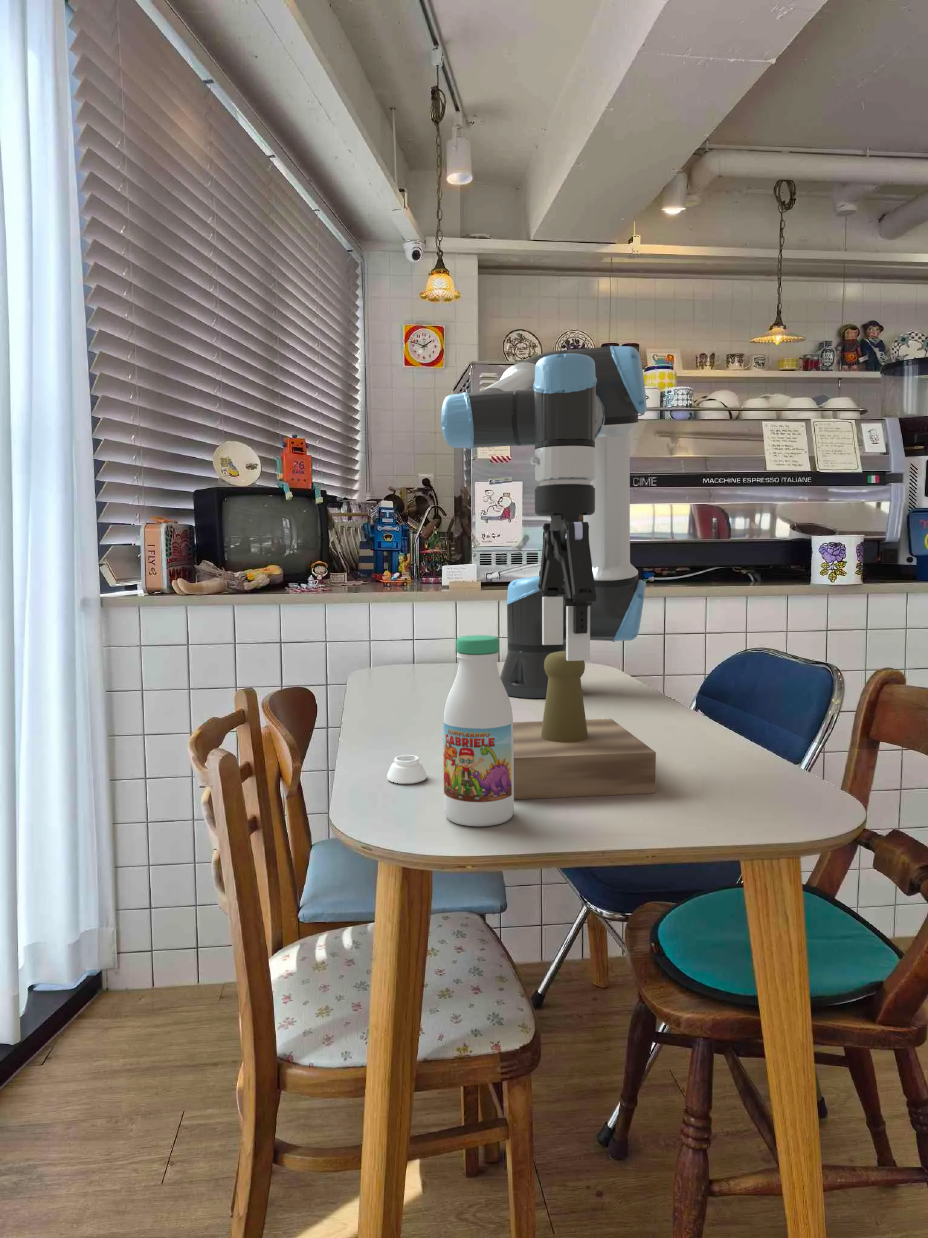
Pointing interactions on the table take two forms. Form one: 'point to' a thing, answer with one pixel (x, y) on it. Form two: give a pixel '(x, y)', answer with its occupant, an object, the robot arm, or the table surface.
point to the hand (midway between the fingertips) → (564, 652)
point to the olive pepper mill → (564, 700)
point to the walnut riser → (581, 763)
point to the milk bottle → (478, 738)
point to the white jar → (406, 770)
